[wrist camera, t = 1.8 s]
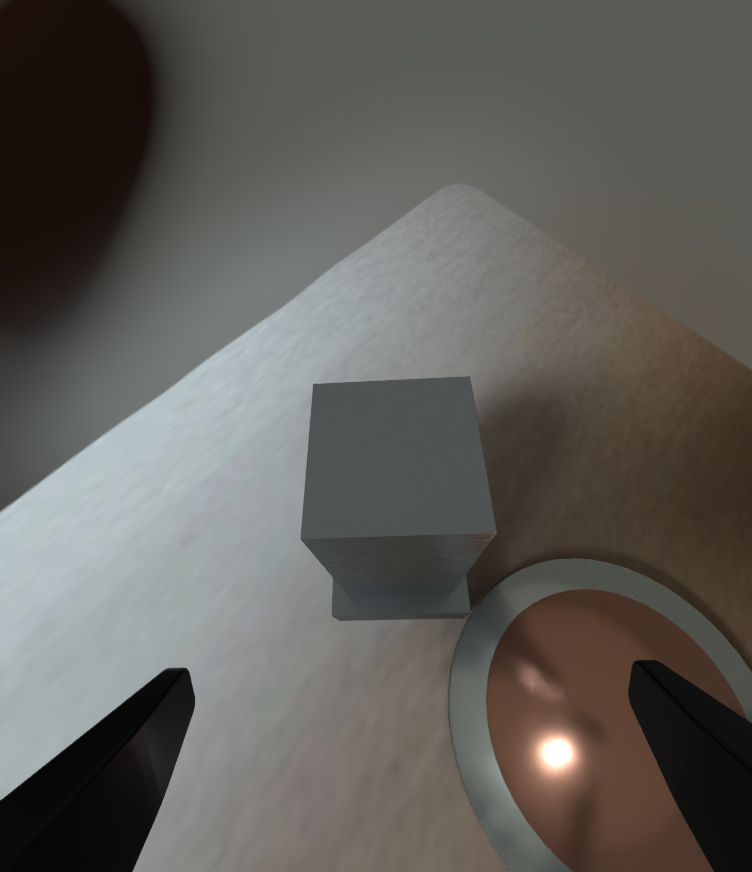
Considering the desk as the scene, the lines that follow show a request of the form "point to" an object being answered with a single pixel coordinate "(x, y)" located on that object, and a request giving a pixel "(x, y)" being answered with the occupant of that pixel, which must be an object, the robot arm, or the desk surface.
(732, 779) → the robot arm
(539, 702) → the copper centred dish
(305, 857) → the desk surface
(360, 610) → the grey stepped block
